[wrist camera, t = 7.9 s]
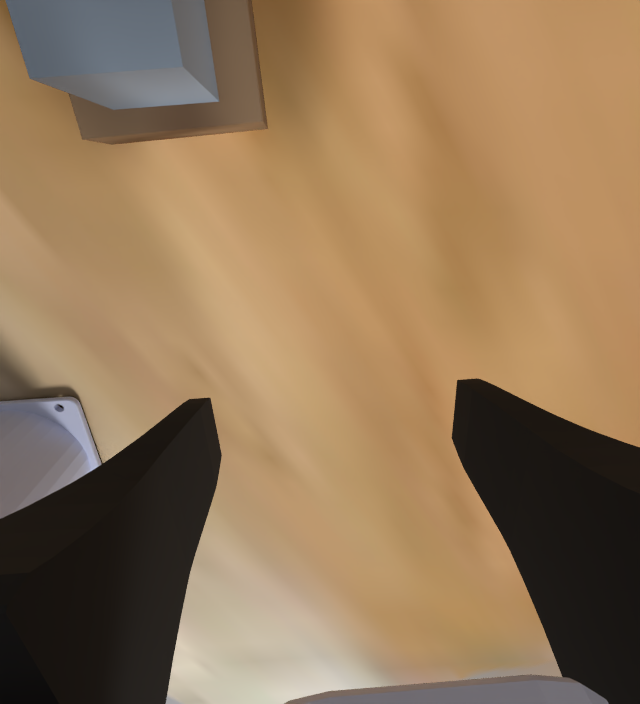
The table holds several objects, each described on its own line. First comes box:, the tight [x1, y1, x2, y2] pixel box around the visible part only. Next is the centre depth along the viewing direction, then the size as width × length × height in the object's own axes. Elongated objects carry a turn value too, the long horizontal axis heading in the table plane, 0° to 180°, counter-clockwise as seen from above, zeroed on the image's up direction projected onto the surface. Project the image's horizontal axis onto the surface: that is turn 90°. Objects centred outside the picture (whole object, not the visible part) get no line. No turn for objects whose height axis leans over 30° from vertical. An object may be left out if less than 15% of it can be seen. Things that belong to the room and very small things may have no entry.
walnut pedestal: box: [69, 0, 268, 144], centre depth 15 cm, size 7×7×3 cm
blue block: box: [6, 0, 219, 110], centre depth 12 cm, size 4×4×5 cm
